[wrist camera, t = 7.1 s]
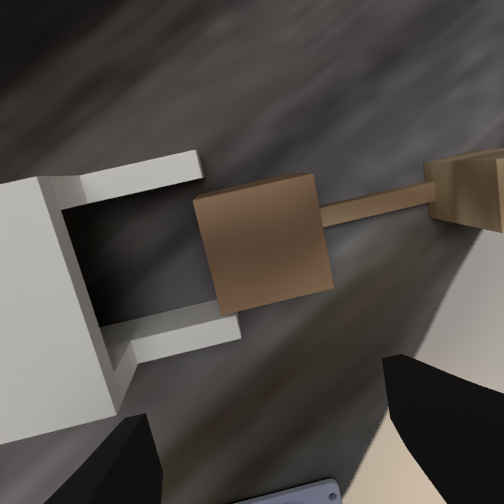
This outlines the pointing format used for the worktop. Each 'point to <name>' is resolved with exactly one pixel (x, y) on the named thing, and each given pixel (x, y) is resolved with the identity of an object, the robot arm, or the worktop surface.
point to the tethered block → (325, 224)
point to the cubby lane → (79, 306)
